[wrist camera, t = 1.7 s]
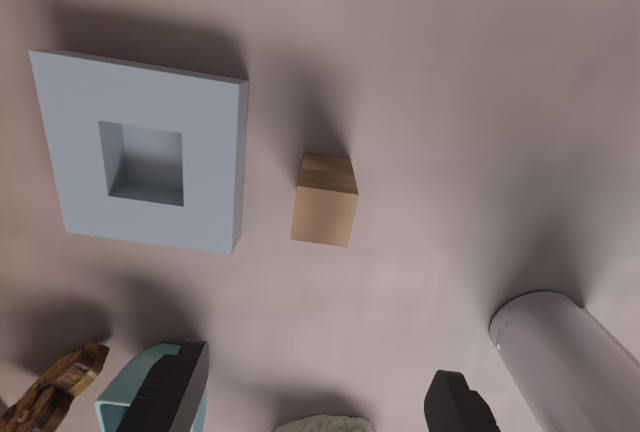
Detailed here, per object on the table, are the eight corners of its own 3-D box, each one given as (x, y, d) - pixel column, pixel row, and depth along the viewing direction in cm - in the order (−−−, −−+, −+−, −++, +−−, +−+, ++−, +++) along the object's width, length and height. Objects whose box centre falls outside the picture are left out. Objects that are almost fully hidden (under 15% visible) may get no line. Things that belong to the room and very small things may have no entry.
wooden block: (350, 159, 29) (358, 194, 22) (342, 201, 31) (347, 247, 24) (304, 152, 29) (297, 185, 22) (298, 195, 31) (290, 239, 23)
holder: (249, 80, 26) (238, 84, 23) (240, 235, 32) (231, 254, 29) (65, 50, 26) (28, 50, 22) (91, 214, 32) (65, 232, 29)
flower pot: (141, 326, 38) (91, 401, 30) (220, 335, 38) (192, 411, 30) (148, 379, 42) (105, 458, 34) (219, 387, 42) (194, 466, 34)
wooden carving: (90, 315, 37) (16, 399, 28) (127, 337, 39) (67, 424, 30) (26, 385, 43) (-53, 474, 34) (60, 402, 44) (-8, 492, 35)
